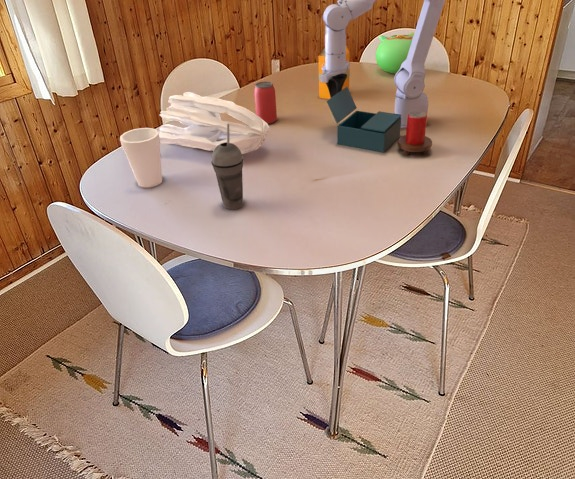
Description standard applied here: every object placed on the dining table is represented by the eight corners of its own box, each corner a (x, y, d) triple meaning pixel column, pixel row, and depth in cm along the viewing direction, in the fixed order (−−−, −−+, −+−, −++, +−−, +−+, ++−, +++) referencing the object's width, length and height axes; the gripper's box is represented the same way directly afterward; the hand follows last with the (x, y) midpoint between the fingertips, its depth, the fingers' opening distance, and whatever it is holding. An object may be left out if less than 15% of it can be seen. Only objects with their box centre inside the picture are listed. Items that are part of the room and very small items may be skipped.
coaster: (413, 143, 141) (414, 131, 139) (437, 153, 134) (439, 141, 132) (390, 152, 137) (391, 140, 135) (414, 163, 130) (415, 150, 128)
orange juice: (349, 93, 178) (350, 34, 167) (338, 100, 172) (338, 40, 161) (330, 90, 182) (330, 32, 171) (318, 97, 176) (317, 38, 165)
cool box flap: (337, 123, 138) (336, 123, 138) (356, 108, 147) (355, 108, 147) (327, 100, 136) (326, 101, 136) (347, 86, 145) (346, 87, 145)
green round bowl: (374, 78, 190) (376, 38, 182) (375, 66, 204) (377, 28, 195) (422, 78, 187) (426, 37, 179) (420, 65, 201) (423, 27, 193)
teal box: (337, 145, 142) (337, 123, 138) (355, 129, 151) (356, 107, 147) (383, 154, 136) (384, 131, 132) (399, 136, 145) (401, 114, 141)
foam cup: (136, 194, 125) (124, 146, 117) (128, 179, 131) (116, 133, 124) (172, 184, 128) (163, 137, 120) (163, 170, 135) (153, 125, 127)
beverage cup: (218, 198, 121) (206, 119, 109) (248, 195, 121) (239, 117, 109) (217, 214, 115) (204, 132, 103) (248, 211, 115) (239, 129, 103)
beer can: (274, 125, 157) (272, 87, 150) (254, 124, 158) (251, 87, 151) (279, 117, 162) (276, 80, 155) (259, 117, 164) (256, 80, 157)
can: (419, 136, 136) (421, 109, 132) (427, 143, 132) (430, 116, 128) (402, 138, 135) (404, 112, 131) (410, 146, 131) (413, 118, 127)
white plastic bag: (284, 110, 141) (185, 94, 155) (253, 93, 124) (146, 77, 138) (271, 169, 142) (174, 148, 156) (239, 160, 126) (135, 137, 140)
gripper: (334, 44, 144) (334, 90, 152) (310, 57, 134) (311, 106, 142) (356, 46, 141) (355, 93, 149) (333, 60, 131) (333, 109, 139)
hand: (335, 100), depth 145 cm, fingers closed
